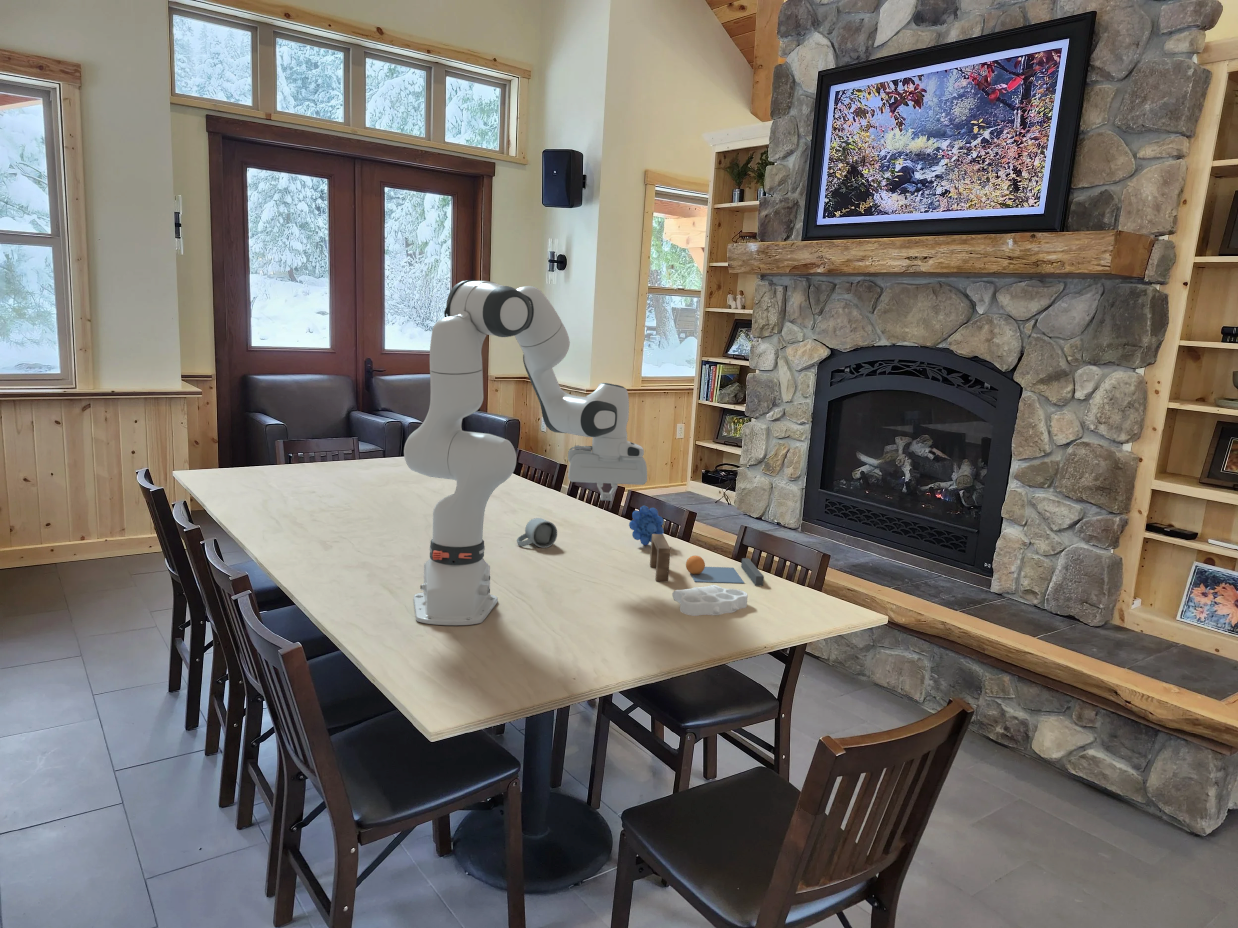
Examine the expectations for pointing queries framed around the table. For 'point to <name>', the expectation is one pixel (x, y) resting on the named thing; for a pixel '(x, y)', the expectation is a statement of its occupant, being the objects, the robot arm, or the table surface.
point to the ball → (695, 565)
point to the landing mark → (718, 575)
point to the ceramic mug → (538, 533)
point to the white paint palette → (710, 600)
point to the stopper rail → (752, 572)
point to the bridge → (660, 557)
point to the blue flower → (646, 524)
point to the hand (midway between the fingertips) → (606, 499)
